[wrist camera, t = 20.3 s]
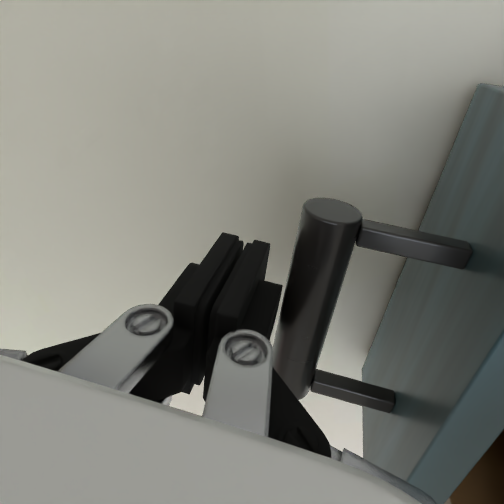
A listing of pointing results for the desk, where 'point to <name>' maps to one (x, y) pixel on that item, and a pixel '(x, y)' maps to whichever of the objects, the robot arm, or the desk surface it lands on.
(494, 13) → the desk surface
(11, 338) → the desk surface
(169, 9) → the desk surface
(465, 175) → the drawer
